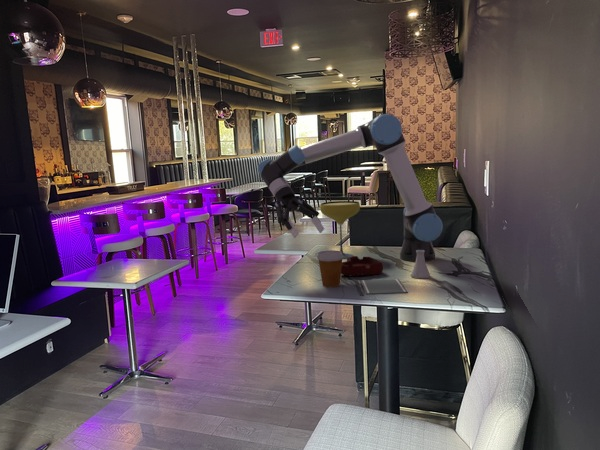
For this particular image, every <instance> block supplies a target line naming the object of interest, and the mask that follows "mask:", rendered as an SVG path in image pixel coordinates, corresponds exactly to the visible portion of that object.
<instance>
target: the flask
mask: <svg viewBox="0 0 600 450" xmlns="http://www.w3.org/2000/svg"><path fill="white" fill-rule="evenodd" d="M416 252H417V258H416V261H414V262H415V263H414V265H413V268H412V272H411V274H410V277H411V278H413V279H414V278H415V279H428V278H430V277H431V273H430V272H429V268H428V265H427V263H426V261H425V259H424V252H425V251H424V250H416Z"/></svg>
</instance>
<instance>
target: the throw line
mask: <svg viewBox="0 0 600 450" xmlns="http://www.w3.org/2000/svg"><path fill="white" fill-rule="evenodd" d="M354 283H355V285H356V288H357V291H358V295H359V297H364V293H363V290H362V287H361V285H360V282H359V279H355V280H354Z"/></svg>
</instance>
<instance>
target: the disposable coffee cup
mask: <svg viewBox="0 0 600 450" xmlns="http://www.w3.org/2000/svg"><path fill="white" fill-rule="evenodd" d="M316 258H317V260H318V266H319V270H320V276H321V282H322V283H321V284H322V287H324V288H337V287H339V286H341V277H342V274H341V267H342V262H343V260H344V259H343V254H342V252H341V251H340V250H332V249H331V250H330V249H329V250H323V251H319V252H318V253H317V256H316Z"/></svg>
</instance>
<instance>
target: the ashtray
mask: <svg viewBox="0 0 600 450" xmlns="http://www.w3.org/2000/svg"><path fill="white" fill-rule="evenodd" d="M383 265H384V264H383V262H382V261H380V260H378V259H375V258H373V257H371V256H363V257H362V259H360V258H359V257H358V256H357V255H353V256H352V257H348V258H347V259H346V261H342V267H341V275H343V277H353V276H375V275H376V276H377V275H380V274H381V273H383V270H384V266H383Z"/></svg>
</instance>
